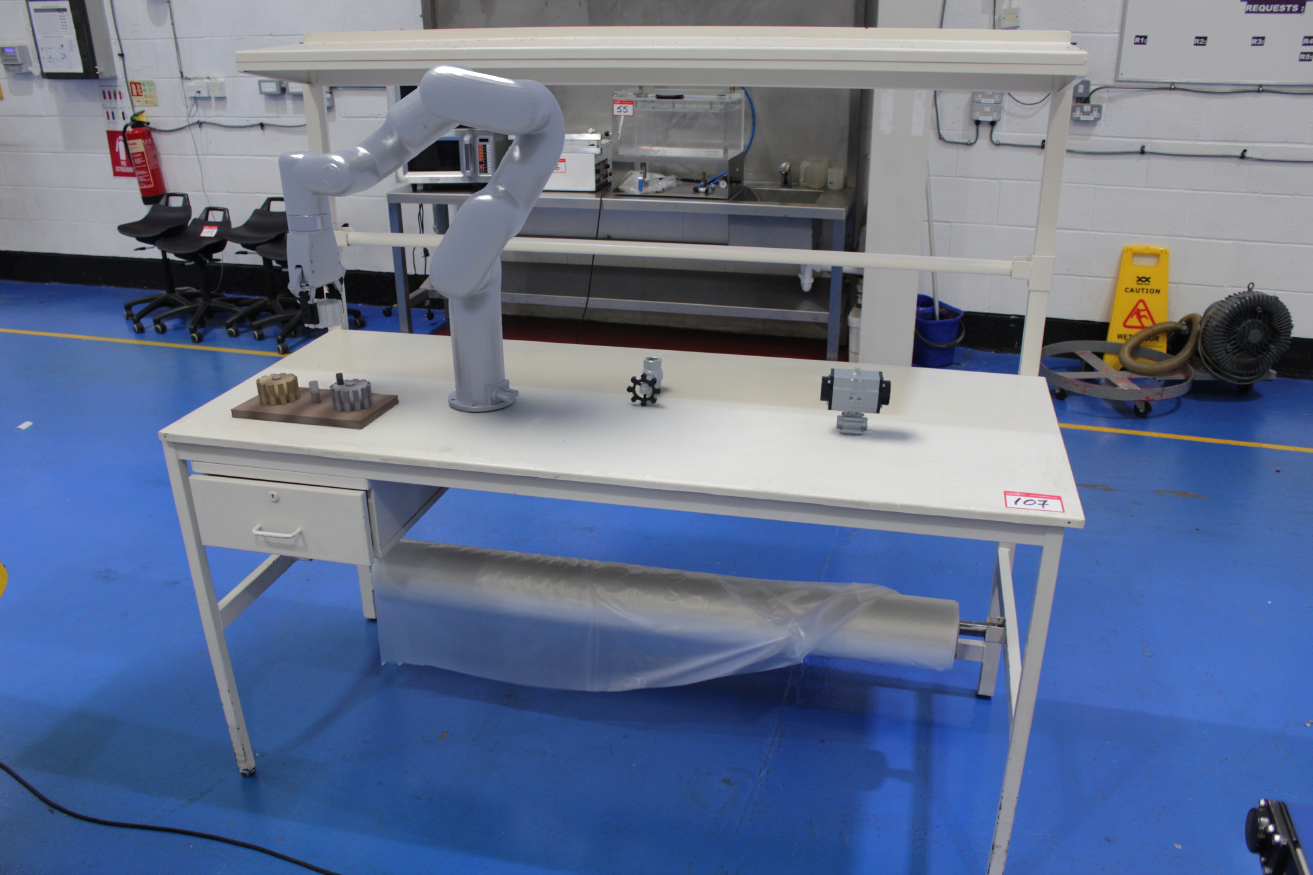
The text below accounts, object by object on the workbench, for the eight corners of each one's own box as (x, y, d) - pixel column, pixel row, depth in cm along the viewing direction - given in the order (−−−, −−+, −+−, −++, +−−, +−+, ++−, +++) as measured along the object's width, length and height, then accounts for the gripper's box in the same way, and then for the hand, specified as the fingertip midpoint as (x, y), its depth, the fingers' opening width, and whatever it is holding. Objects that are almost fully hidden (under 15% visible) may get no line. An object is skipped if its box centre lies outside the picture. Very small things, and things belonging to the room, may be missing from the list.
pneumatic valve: (817, 424, 159) (823, 361, 154) (884, 429, 157) (891, 365, 152) (817, 436, 154) (822, 371, 149) (885, 441, 152) (893, 375, 147)
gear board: (398, 402, 168) (394, 365, 166) (361, 429, 156) (355, 389, 153) (278, 392, 174) (272, 356, 171) (232, 417, 161) (224, 378, 158)
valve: (638, 385, 179) (626, 406, 168) (638, 354, 176) (626, 373, 165) (670, 387, 178) (660, 408, 167) (670, 356, 175) (660, 375, 164)
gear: (352, 322, 167) (349, 301, 165) (319, 330, 161) (316, 309, 160) (329, 316, 171) (327, 296, 169) (297, 324, 165) (293, 303, 164)
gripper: (320, 215, 167) (333, 306, 174) (260, 229, 152) (277, 329, 159) (355, 217, 166) (366, 309, 172) (298, 231, 150) (313, 332, 157)
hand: (323, 318), depth 166 cm, fingers closed on gear, 7 cm apart
